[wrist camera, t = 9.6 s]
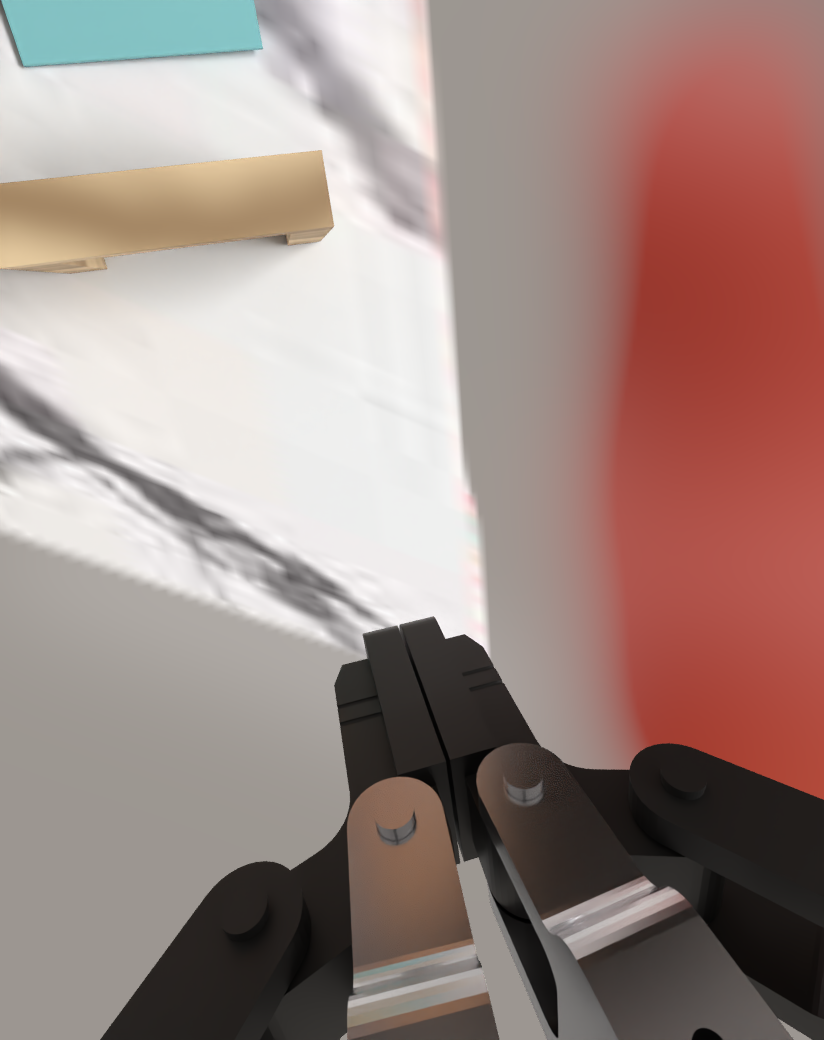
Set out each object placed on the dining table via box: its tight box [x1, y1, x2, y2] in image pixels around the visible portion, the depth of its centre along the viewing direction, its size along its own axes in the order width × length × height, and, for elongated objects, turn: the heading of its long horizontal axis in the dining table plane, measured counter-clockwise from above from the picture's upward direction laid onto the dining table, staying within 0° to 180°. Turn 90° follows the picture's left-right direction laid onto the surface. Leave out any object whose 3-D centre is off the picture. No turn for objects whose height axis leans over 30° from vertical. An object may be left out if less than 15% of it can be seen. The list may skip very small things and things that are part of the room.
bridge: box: [0, 150, 334, 274], centre depth 28 cm, size 3×14×9 cm, turn 97°
